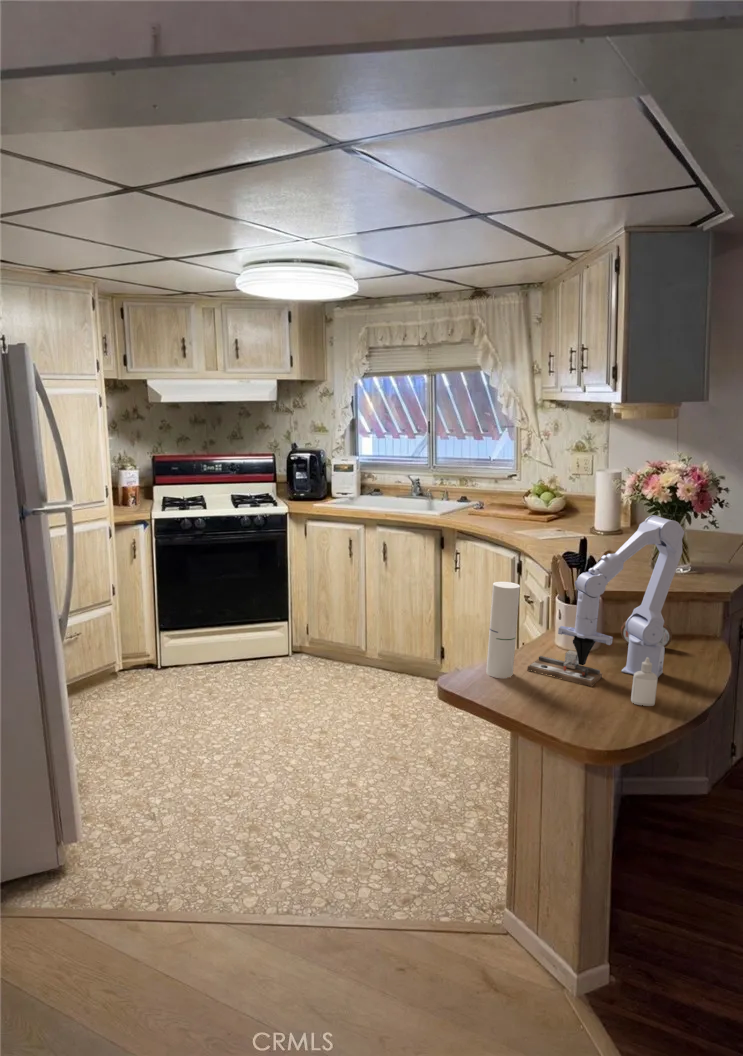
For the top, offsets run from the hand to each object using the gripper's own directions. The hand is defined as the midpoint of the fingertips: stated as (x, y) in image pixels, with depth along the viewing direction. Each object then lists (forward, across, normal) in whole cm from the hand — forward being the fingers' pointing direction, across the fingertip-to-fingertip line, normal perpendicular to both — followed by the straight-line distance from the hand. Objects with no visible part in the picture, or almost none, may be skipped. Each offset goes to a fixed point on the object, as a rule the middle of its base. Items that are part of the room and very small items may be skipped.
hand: (582, 664), depth 208 cm
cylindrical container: (+3, -18, -15) cm, 23 cm away
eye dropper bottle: (+3, +19, -10) cm, 22 cm away
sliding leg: (+1, -3, -2) cm, 4 cm away
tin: (+3, +7, +38) cm, 39 cm away
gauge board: (+3, -4, -3) cm, 6 cm away
